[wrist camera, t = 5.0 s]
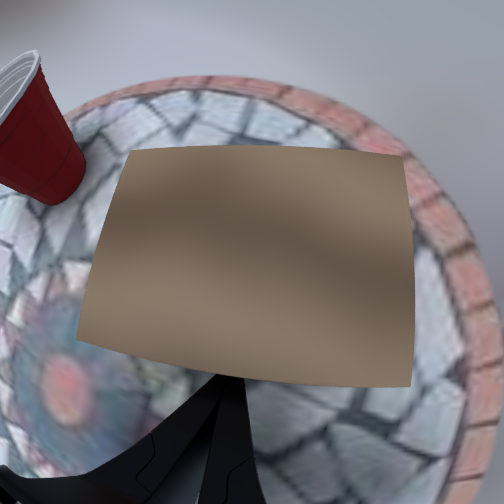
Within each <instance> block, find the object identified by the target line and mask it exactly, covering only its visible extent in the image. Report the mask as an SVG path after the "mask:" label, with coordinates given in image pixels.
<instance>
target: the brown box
mask: <svg viewBox="0 0 504 504" xmlns="http://www.w3.org/2000/svg"><path fill="white" fill-rule="evenodd" d="M414 332H415V272H414V252H413V238H412V227H411V217H410V208H409V200H408V192H407V185H406V179H405V172H404V166H403V161H402V156H396V155H388V154H380V153H372V152H362V151H353V150H341V149H329V148H314V147H296V146H265V145H218V146H187V147H169V148H154V149H142V150H131V151H130V153H129V156H128V158H127V161H126V163H125V166H124V168H123V171H122V173H121V176H120V179H119V181H118V184H117V187H116V189H115V192H114V195H113V198H112V201H111V204H110V206H109V209H108V212H107V215H106V219H105V222H104V225H103V228H102V231H101V235H100V238H99V241H98V245H97V248H96V252H95V255H94V259H93V263H92V267H91V271H90V275H89V279H88V283H87V287H86V291H85V296H84V301H83V305H82V310H81V315H80V320H79V326H78V331H77V337H76V339H77V340H80V341H83V342H86V343H89V344H93V345H96V346H99V347H103V348H106V349H109V350H113V351H117V352H120V353H124V354H128V355H131V356H135V357H139V358H143V359H147V360H152V361H156V362H160V363H165V364H169V365H174V366H179V367H183V368H188V369H194V370H199V371H204V372H210V373H216V374H222V375H228V376H235V377H241V378H249V379H256V380H264V381H273V382H282V383H293V384H305V385H319V386H337V387H410V386H411V377H412V365H413V352H414Z"/></svg>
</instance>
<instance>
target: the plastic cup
mask: <svg viewBox="0 0 504 504" xmlns="http://www.w3.org/2000/svg"><path fill="white" fill-rule="evenodd" d="M40 62H41V57H40V54H39V53H38V51H37V50H36V49H35V50H32V51H28V52H25V53H23V54H22V55H20V56H18V57H17V58H15V59H14V60H12V61H11V62H9V63H8V64H7V65H6V66H5V67H4V68H2V69H1V70H0V183H1V184H3V185H5V186H7V187H9V188H11V189H13V190H15V191H17V192H20V193H22V194H24V195H25V194H26V195H28V196H30V197H32V198H34V199H36V200H38V201H40V202H42V203H44V204H48V205H55V204H59V203H60V202H62V201H64V200H66V199H67V198H68V197H69V196H70V195H71V194H72V193H73V192H74V191H75V190H76V188H77V187H78V185H79V184H80V182H81V181H82V178H83V175H84V173H85V170H86V161H85V159H84V156H83V154H82V152H81V150H80V149H79V147H78V145H77V144H76V142H75V140H74V138H73V134H72V132H71V131H70V129H69V127H68V125H67V123H66V122H65V120H64V118H63V116H62V114H61V112H60V110H59V109H58V106H57V105H56V103H55V101H54V99H53V97H52V95H51V93H50V91H49V87H48V85H47V83H46V81H45V79H44V78H45V76H44V75H43V72H42V68H41V64H40Z"/></svg>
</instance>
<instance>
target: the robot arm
mask: <svg viewBox="0 0 504 504" xmlns="http://www.w3.org/2000/svg"><path fill="white" fill-rule="evenodd" d="M199 492H200V495H199V500H198V504H266V501H265V498H264V495H263V492H262V489H261V485H260V482H259V478H258V473H257V468H256V462H255V457H254V449H253V442H252V435H251V427H250V420H249V413H248V405H247V398H246V390H245V383H244V378H241V377H235V376H228V375H222V374H216V375H214V376H213V377H212V378H211V379H210V380H209V381H208V382H207V383H206V384H205V385H204V386H202V387H201V388H200V389H199V390H198V391H197V392H196V393H195V394H194V395H192V396H191V397H190V398H189V399H188V400H187V401H186V402H185V403H183V404H182V405H181V406H180V407H179V408H178V409H177V410H175V411H174V412H173V413H172V414H171V415H170V416H169V417H167V418H166V419H165V420H164V421H163V422H162V423H160V424H159V425H158V426H157V427H156V428H154V429H153V430H152V431H151V433H148V434H147V435H146V436H145V437H144V438H142V439H141V440H140V441H138V442H137V443H136V444H135V445H133V446H132V447H130V448H129V449H127V450H126V451H124V452H123V453H121V454H120V455H118V456H116V457H115V458H113V459H111V460H110V461H108V462H106V463H105V464H103V465H101V466H99V467H98V468H96V469H94V470H92V471H90V472H88V473H85V474H82V475H78V476H69V477H56V478H25V477H21V476H18V475H17V474H15V473H14V472H13V471H11V470H10V469H9V468H8V467H7V466H5V465H0V504H195V502H196V499H197V497H198V494H199Z"/></svg>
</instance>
